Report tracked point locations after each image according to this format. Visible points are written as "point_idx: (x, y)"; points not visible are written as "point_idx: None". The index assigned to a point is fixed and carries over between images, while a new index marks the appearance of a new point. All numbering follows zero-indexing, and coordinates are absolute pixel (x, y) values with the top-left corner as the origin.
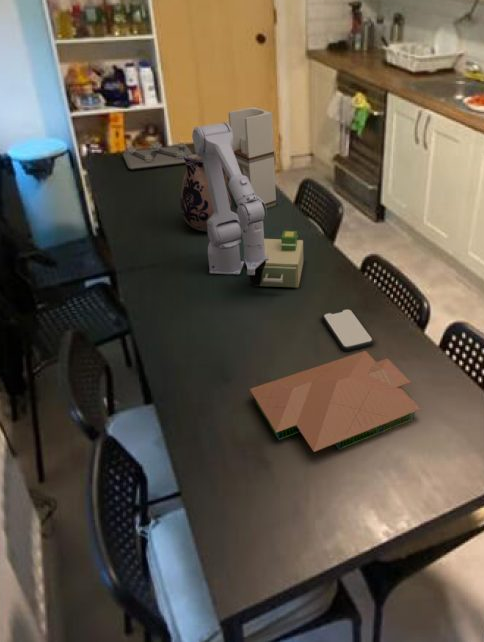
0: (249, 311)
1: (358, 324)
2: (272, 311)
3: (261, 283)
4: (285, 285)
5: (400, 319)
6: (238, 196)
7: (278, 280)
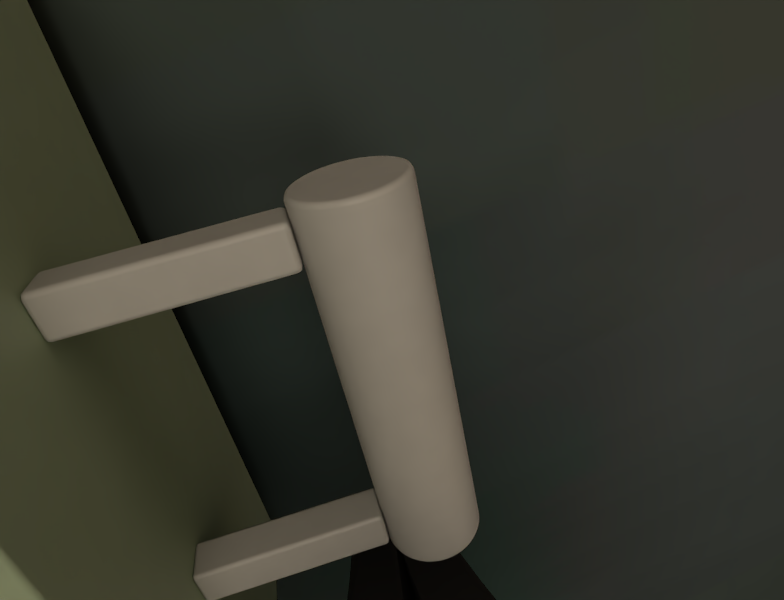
0: (725, 338)
1: None
2: (731, 96)
3: (245, 492)
4: (90, 153)
5: None
6: None
7: (423, 275)
